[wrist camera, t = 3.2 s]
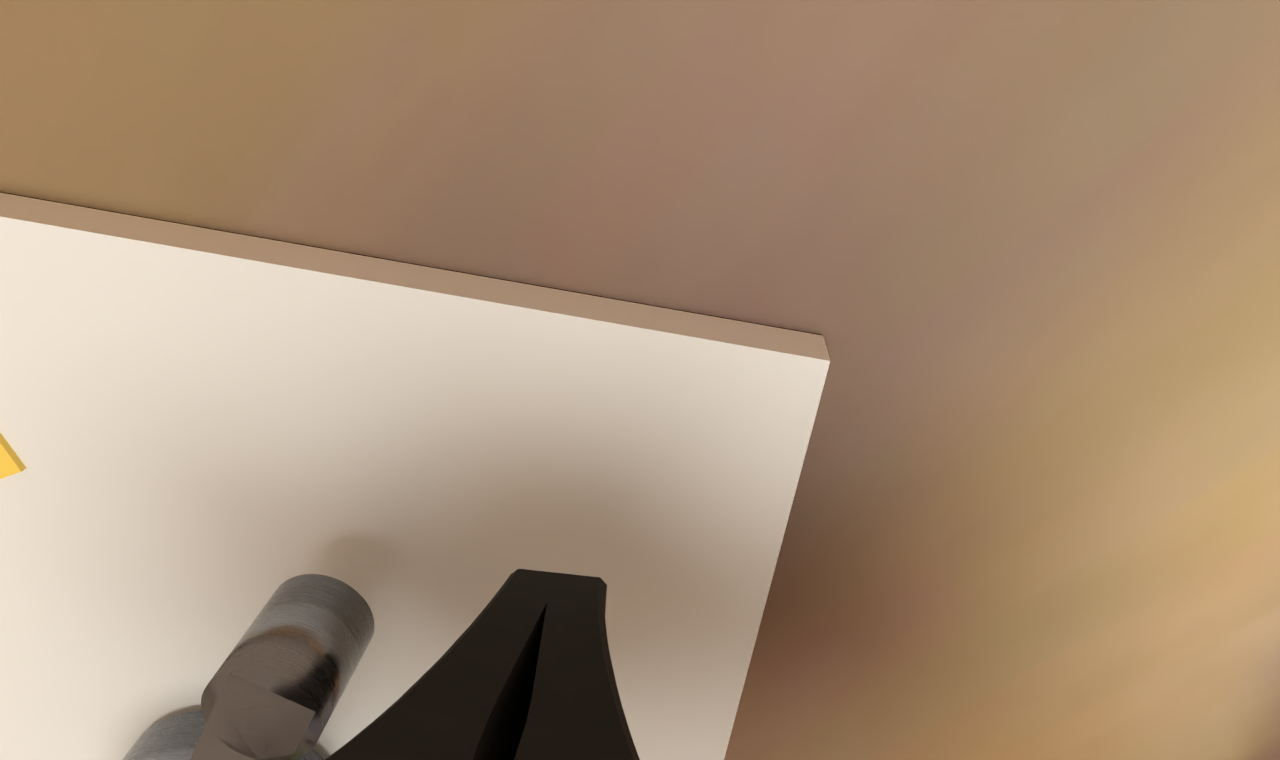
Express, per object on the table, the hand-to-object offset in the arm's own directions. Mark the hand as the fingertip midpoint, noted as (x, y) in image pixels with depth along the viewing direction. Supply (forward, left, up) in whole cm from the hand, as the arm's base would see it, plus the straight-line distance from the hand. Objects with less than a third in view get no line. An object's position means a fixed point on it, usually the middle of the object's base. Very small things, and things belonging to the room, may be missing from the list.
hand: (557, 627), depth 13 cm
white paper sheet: (-5, +5, -3) cm, 7 cm away
